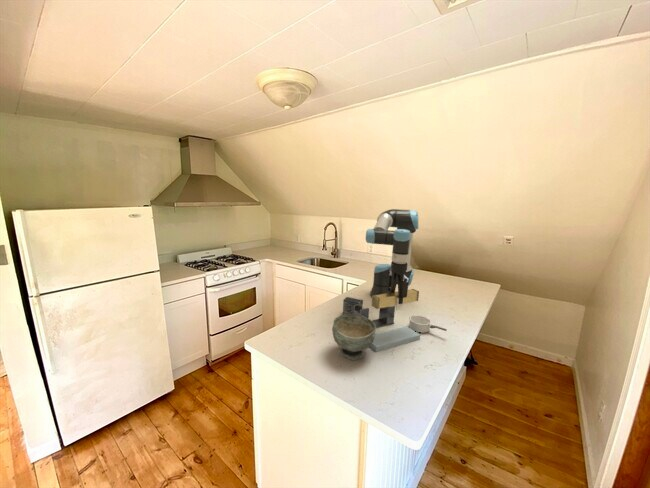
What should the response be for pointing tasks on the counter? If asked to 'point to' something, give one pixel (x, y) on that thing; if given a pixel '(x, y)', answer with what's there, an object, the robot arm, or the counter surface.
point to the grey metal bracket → (384, 315)
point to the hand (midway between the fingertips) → (395, 307)
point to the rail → (393, 299)
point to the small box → (350, 305)
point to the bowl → (353, 334)
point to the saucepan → (421, 324)
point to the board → (394, 338)
